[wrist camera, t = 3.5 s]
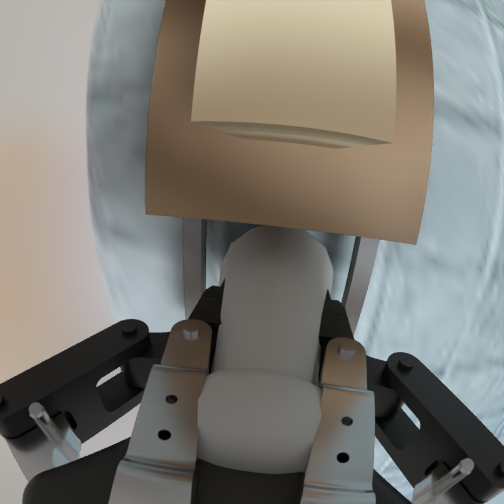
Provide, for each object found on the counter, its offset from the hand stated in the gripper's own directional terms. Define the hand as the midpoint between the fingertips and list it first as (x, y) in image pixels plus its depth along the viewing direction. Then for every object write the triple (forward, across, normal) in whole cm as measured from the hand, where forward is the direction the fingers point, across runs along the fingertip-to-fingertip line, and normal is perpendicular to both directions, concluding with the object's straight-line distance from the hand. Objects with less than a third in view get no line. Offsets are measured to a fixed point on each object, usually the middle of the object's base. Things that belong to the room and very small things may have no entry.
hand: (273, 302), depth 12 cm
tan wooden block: (+4, 0, -7) cm, 8 cm away
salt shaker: (+5, 0, 0) cm, 5 cm away
